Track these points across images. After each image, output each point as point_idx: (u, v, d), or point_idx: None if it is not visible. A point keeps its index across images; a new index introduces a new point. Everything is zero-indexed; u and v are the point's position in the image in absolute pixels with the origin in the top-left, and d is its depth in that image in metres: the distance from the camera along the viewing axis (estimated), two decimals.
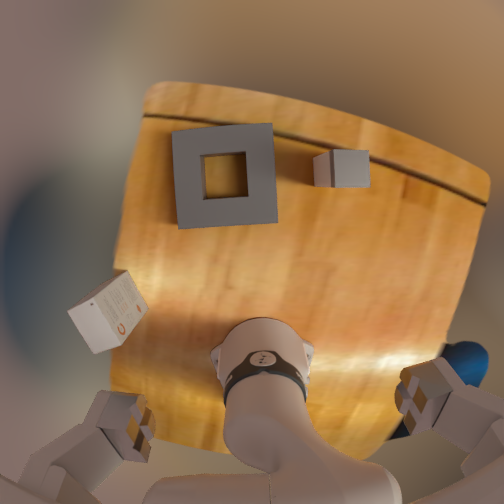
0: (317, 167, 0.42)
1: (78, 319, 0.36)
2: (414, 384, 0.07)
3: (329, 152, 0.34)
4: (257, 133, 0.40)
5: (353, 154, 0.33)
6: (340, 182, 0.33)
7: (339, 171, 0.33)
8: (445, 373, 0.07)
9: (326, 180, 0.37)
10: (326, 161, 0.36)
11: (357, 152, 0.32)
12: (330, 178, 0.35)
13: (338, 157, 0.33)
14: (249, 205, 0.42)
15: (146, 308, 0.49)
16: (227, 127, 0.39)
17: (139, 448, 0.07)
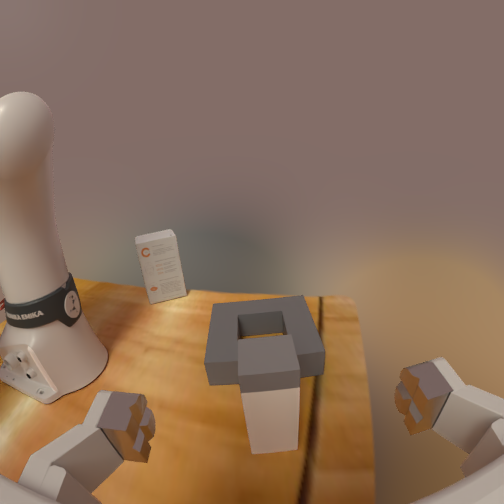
0: None
1: (163, 231, 0.58)
2: (414, 384, 0.07)
3: None
4: (309, 341, 0.35)
5: (288, 353, 0.22)
6: (245, 343, 0.24)
7: (260, 341, 0.24)
8: (445, 373, 0.07)
9: None
10: None
11: (292, 357, 0.22)
12: None
13: (280, 339, 0.24)
14: (227, 342, 0.37)
15: (151, 300, 0.56)
16: (312, 323, 0.39)
17: (139, 448, 0.07)
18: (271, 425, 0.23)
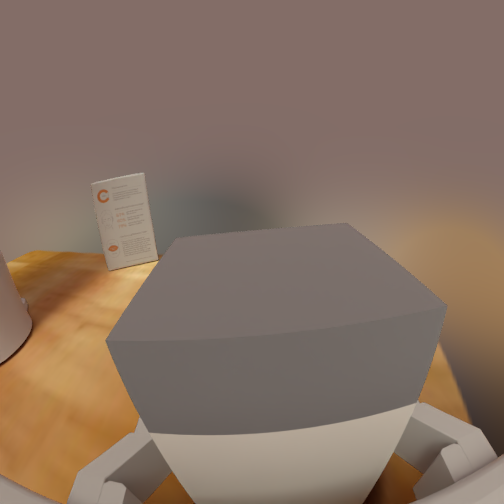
0: None
1: None
2: None
3: None
4: None
5: (362, 257, 0.05)
6: (196, 242, 0.07)
7: (248, 237, 0.07)
8: None
9: None
10: None
11: (386, 268, 0.05)
12: None
13: (317, 231, 0.07)
14: None
15: (109, 265, 0.39)
16: None
17: None
18: None
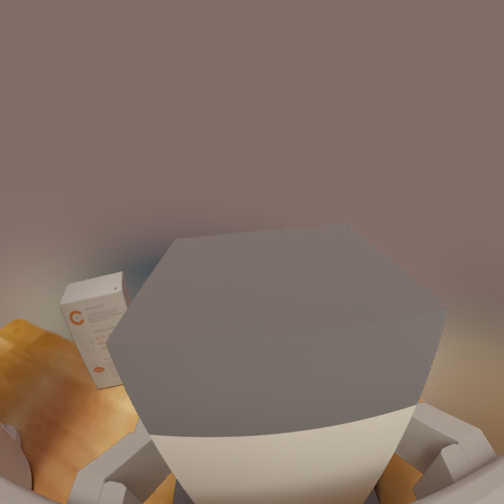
0: None
1: (108, 277, 0.33)
2: None
3: None
4: None
5: (362, 259, 0.05)
6: (196, 244, 0.07)
7: (248, 239, 0.07)
8: None
9: None
10: None
11: (386, 270, 0.05)
12: None
13: (318, 233, 0.07)
14: None
15: (98, 384, 0.31)
16: (371, 492, 0.14)
17: None
18: None
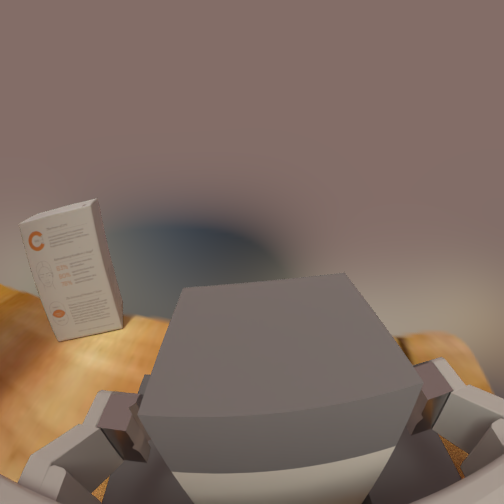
0: None
1: (80, 202, 0.27)
2: None
3: None
4: None
5: (355, 323, 0.06)
6: (203, 297, 0.08)
7: (252, 292, 0.08)
8: (445, 373, 0.07)
9: None
10: None
11: (376, 337, 0.05)
12: None
13: (316, 285, 0.08)
14: None
15: (58, 335, 0.25)
16: (444, 458, 0.08)
17: (139, 448, 0.07)
18: None
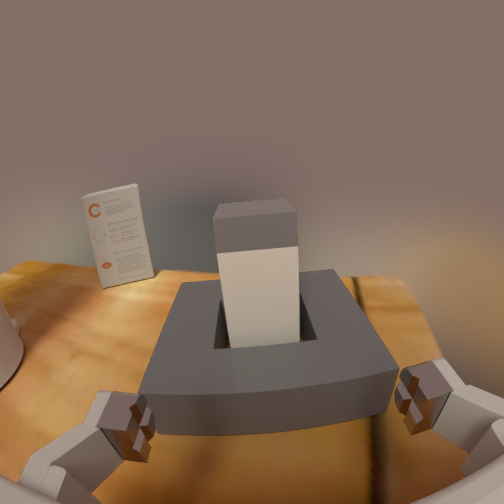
0: None
1: None
2: (414, 384, 0.07)
3: None
4: (362, 349, 0.16)
5: (281, 205, 0.18)
6: (227, 205, 0.20)
7: (246, 203, 0.20)
8: (445, 373, 0.07)
9: None
10: None
11: (286, 207, 0.17)
12: None
13: (271, 201, 0.20)
14: (193, 350, 0.18)
15: (103, 283, 0.37)
16: (359, 312, 0.20)
17: (139, 448, 0.07)
18: (260, 323, 0.18)
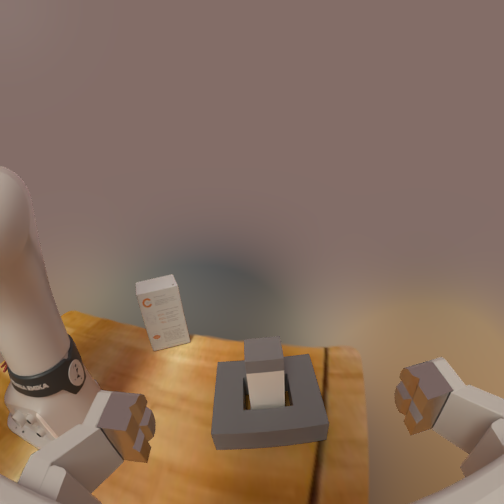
0: None
1: (164, 278, 0.56)
2: (414, 384, 0.07)
3: None
4: (313, 412, 0.33)
5: (277, 348, 0.35)
6: (249, 341, 0.37)
7: (259, 340, 0.37)
8: (445, 373, 0.07)
9: None
10: None
11: (279, 351, 0.34)
12: None
13: (272, 339, 0.37)
14: (233, 410, 0.35)
15: (154, 347, 0.54)
16: (317, 389, 0.37)
17: (139, 448, 0.07)
18: (266, 398, 0.35)
